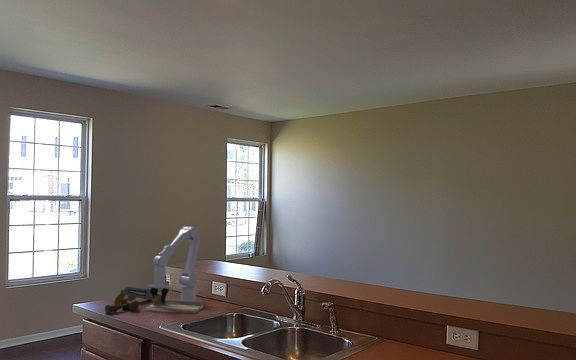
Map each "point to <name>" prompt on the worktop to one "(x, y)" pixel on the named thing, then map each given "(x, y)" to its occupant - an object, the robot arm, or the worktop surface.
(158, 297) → the brown handled block
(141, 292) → the gun
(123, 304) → the kendama
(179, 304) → the board
